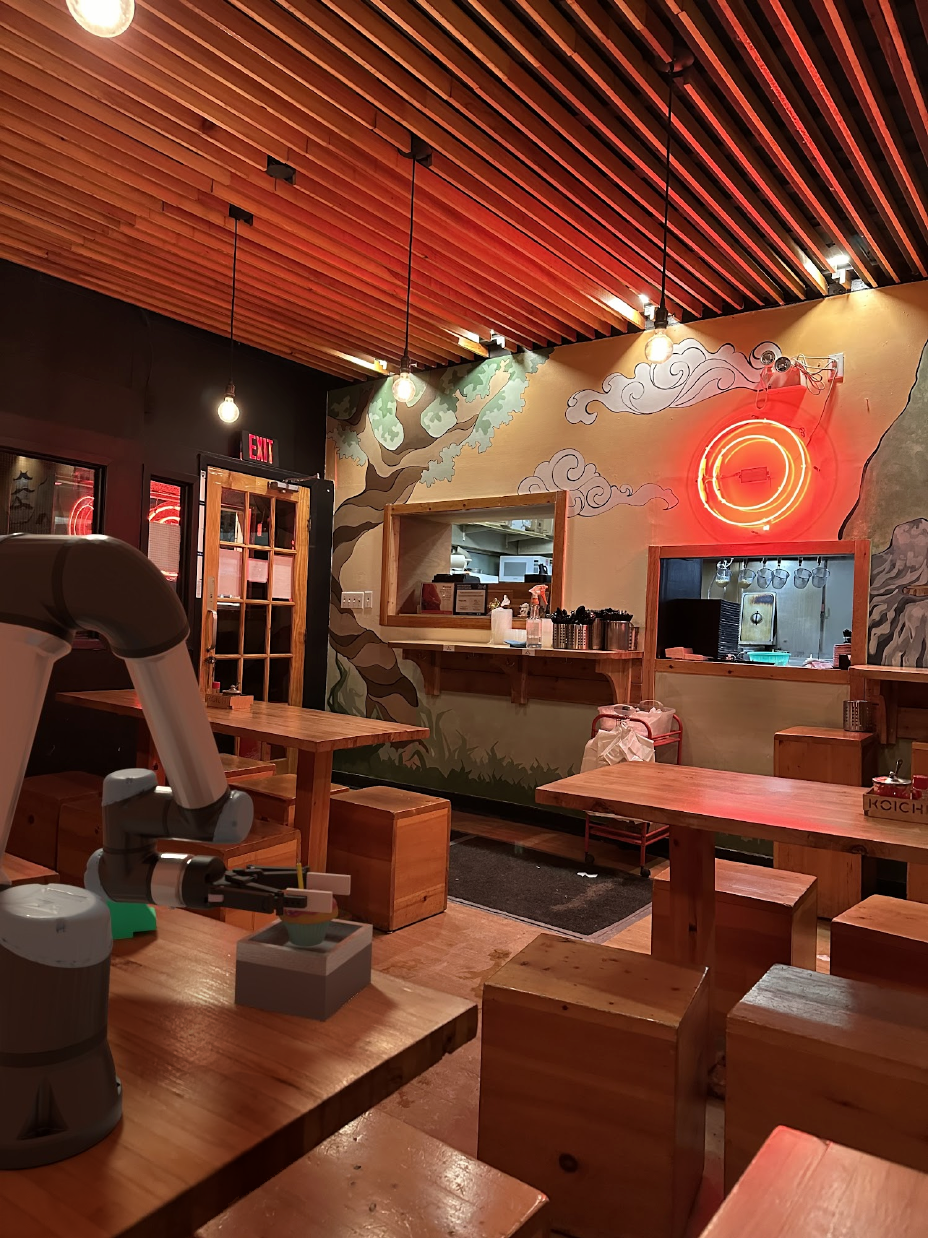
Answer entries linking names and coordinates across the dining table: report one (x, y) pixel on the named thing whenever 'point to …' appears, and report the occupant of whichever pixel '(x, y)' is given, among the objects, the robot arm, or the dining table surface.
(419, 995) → the dining table surface
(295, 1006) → the gray open box
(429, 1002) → the dining table surface
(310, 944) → the cupcake
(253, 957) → the collar
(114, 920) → the camera mount
